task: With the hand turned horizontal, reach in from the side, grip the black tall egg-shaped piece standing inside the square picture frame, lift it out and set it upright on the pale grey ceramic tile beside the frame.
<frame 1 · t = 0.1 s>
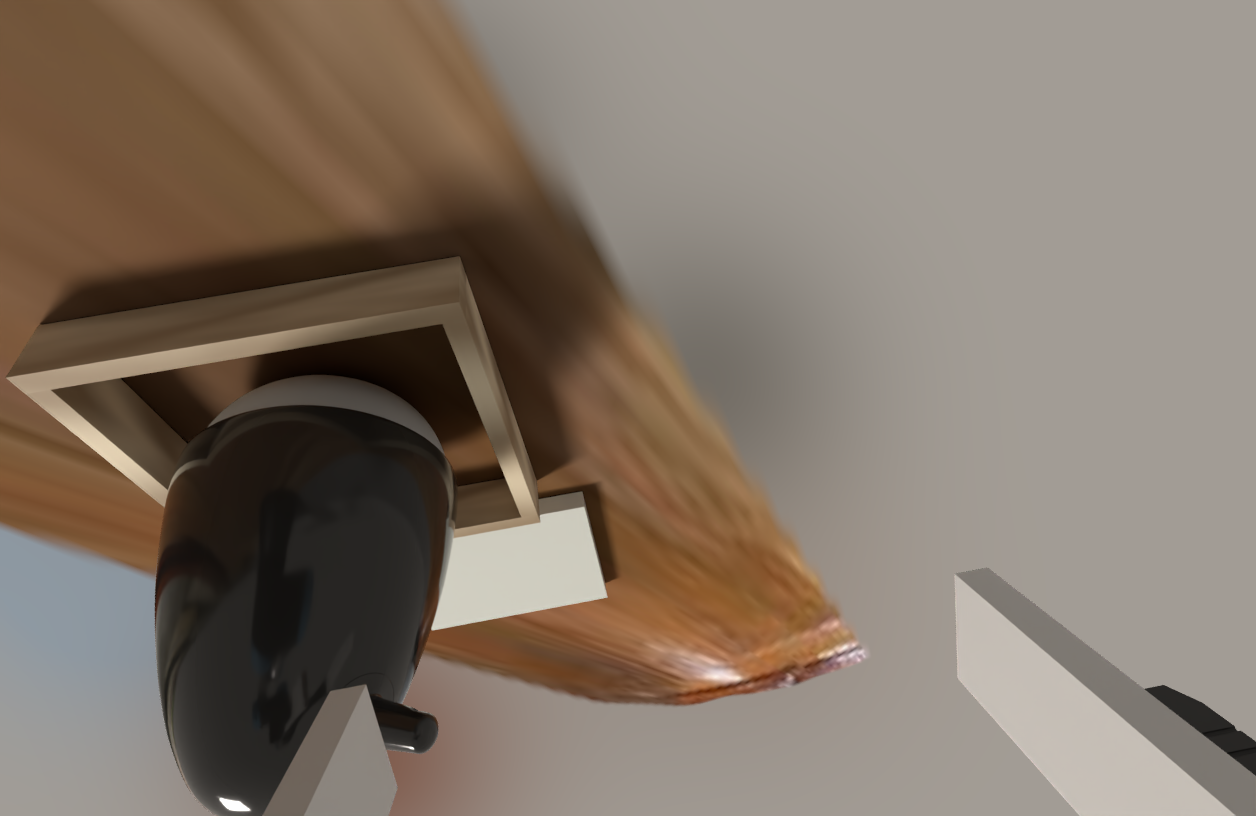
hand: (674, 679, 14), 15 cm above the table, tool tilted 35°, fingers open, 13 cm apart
black tall egg-shaped piece: (340, 415, 28), resting in square picture frame
ceramic tile: (499, 560, 40), on the table
square picture frame: (340, 419, 28), on the table
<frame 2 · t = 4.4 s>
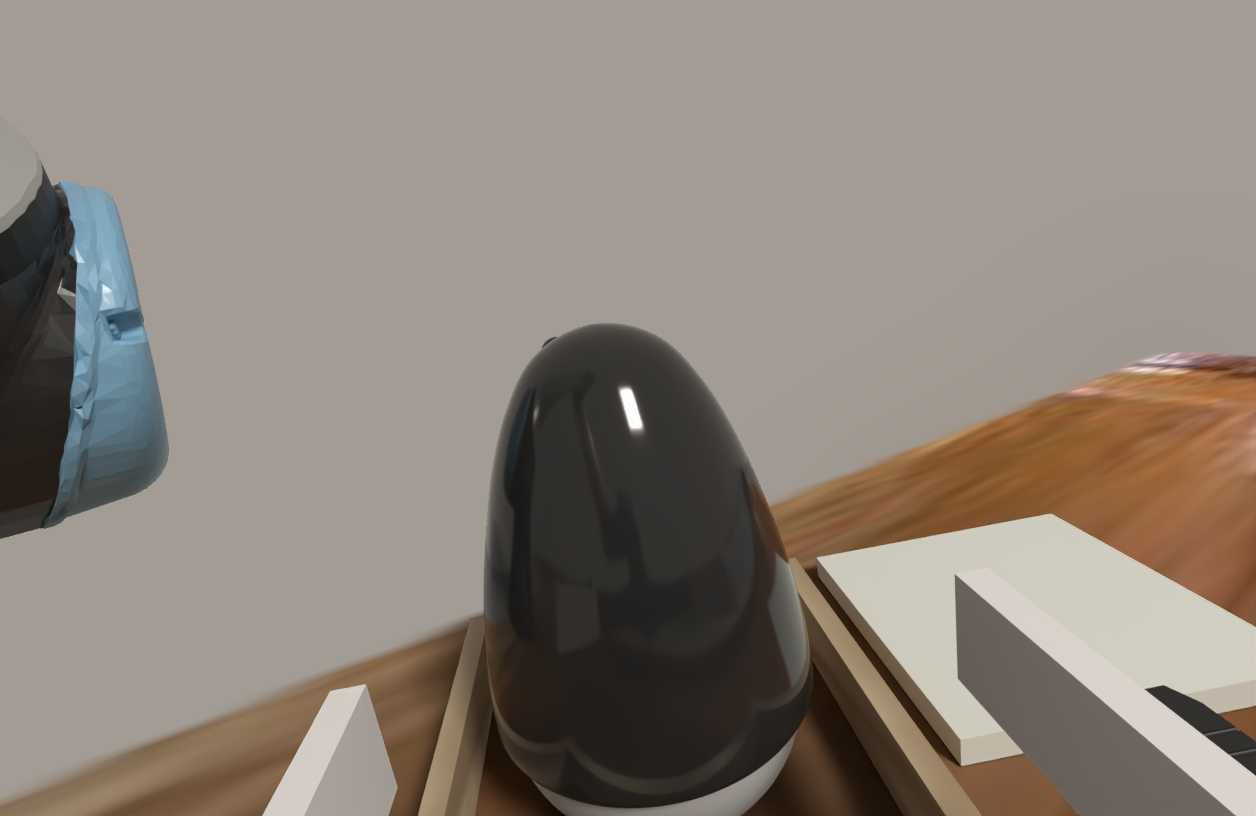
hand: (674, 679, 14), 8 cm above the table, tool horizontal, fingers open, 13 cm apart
black tall egg-shaped piece: (667, 766, 22), resting in square picture frame
ceramic tile: (1016, 621, 26), on the table
square picture frame: (666, 761, 22), on the table
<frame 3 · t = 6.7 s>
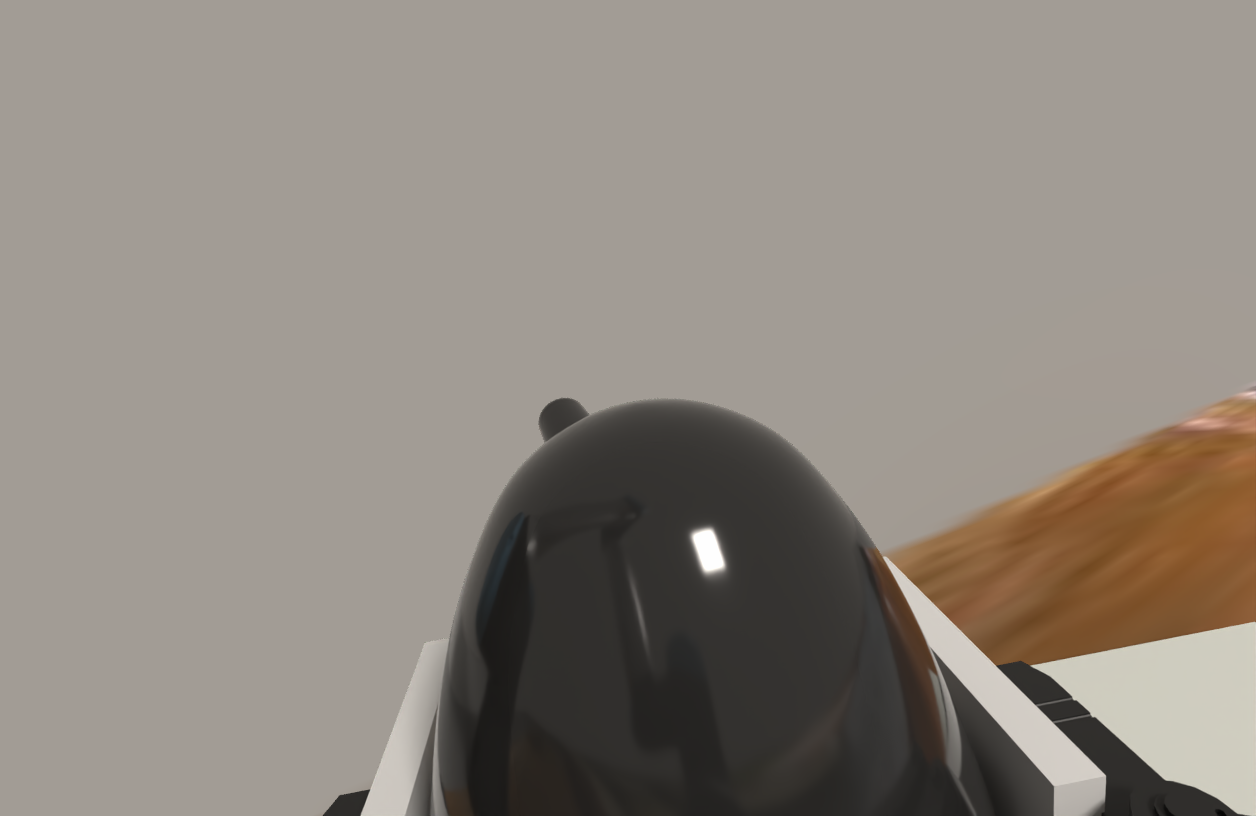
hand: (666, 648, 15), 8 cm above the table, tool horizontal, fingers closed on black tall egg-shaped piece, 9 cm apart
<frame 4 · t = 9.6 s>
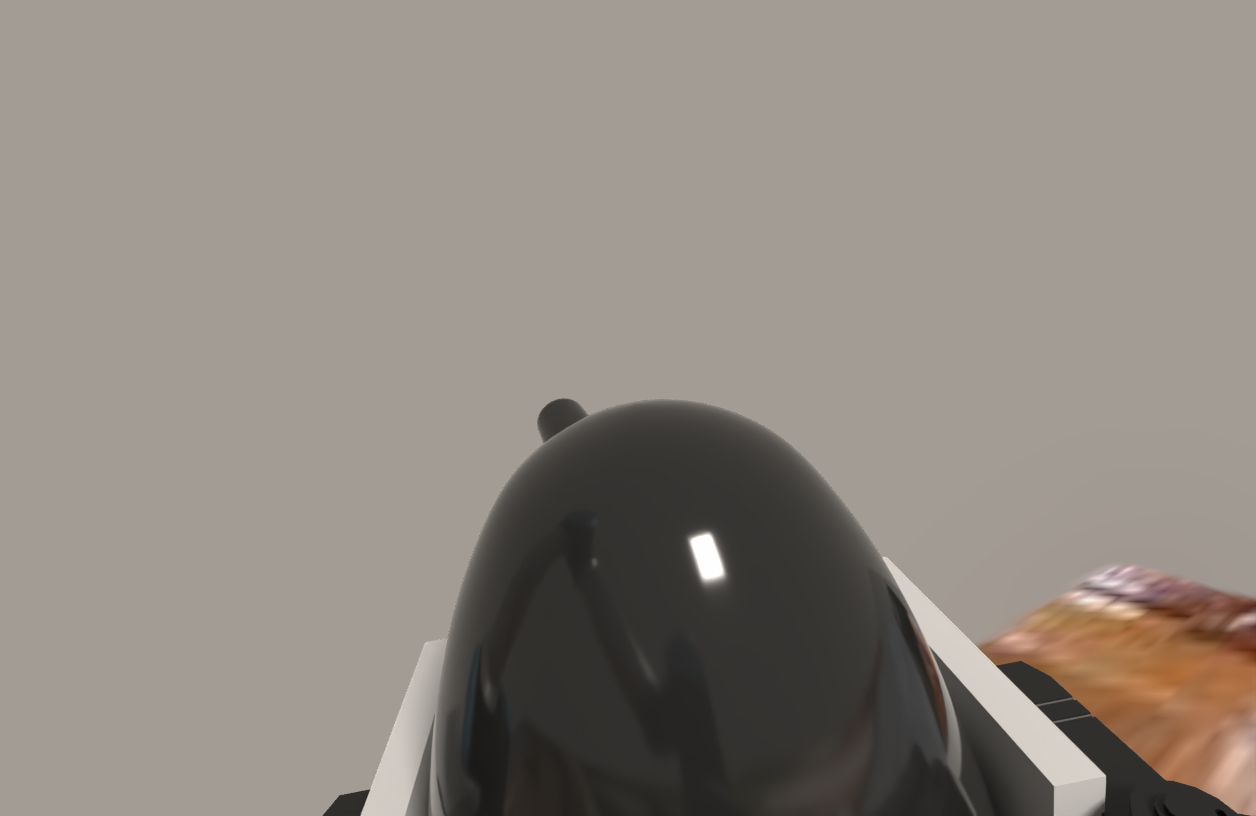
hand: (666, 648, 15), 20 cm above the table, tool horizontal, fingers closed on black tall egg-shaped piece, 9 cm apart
when the fingers open (10 cm above the table, at t = 12.6 s): black tall egg-shaped piece drops 1 cm, resting on ceramic tile.
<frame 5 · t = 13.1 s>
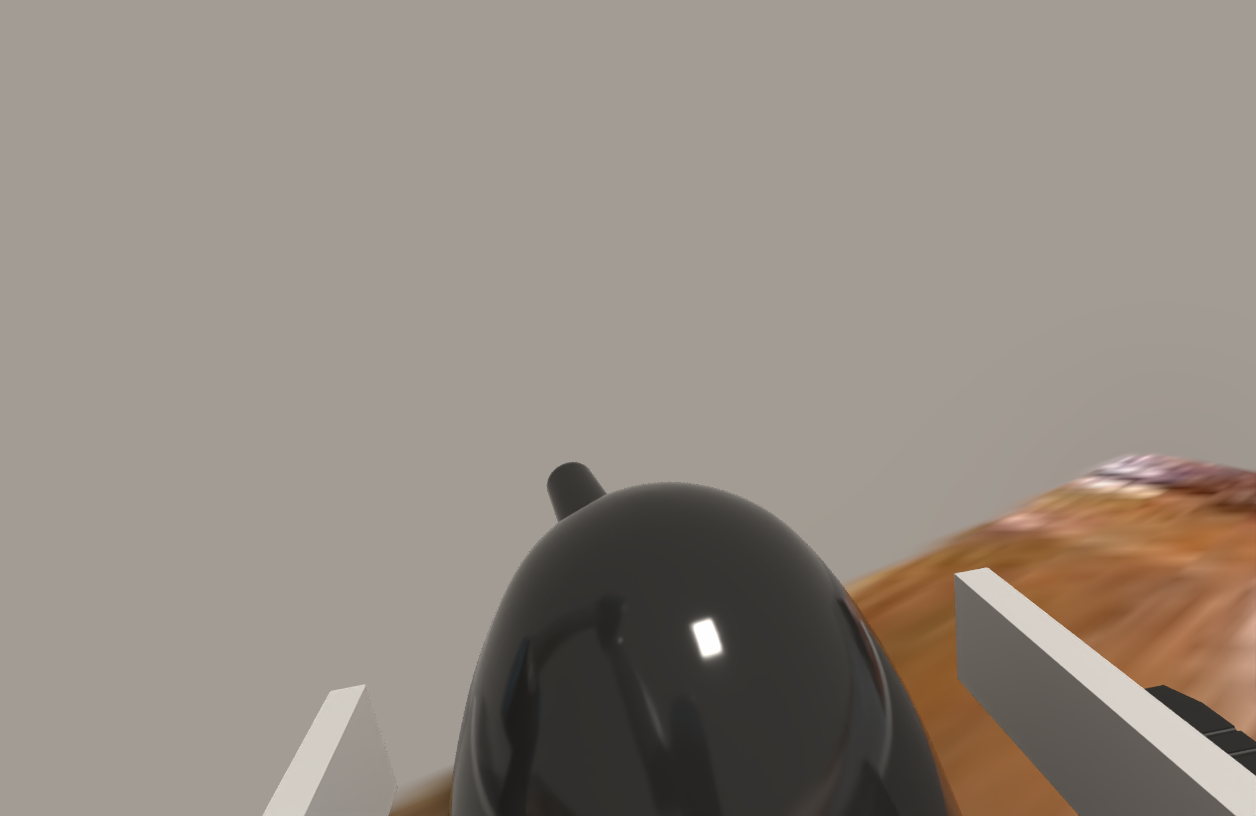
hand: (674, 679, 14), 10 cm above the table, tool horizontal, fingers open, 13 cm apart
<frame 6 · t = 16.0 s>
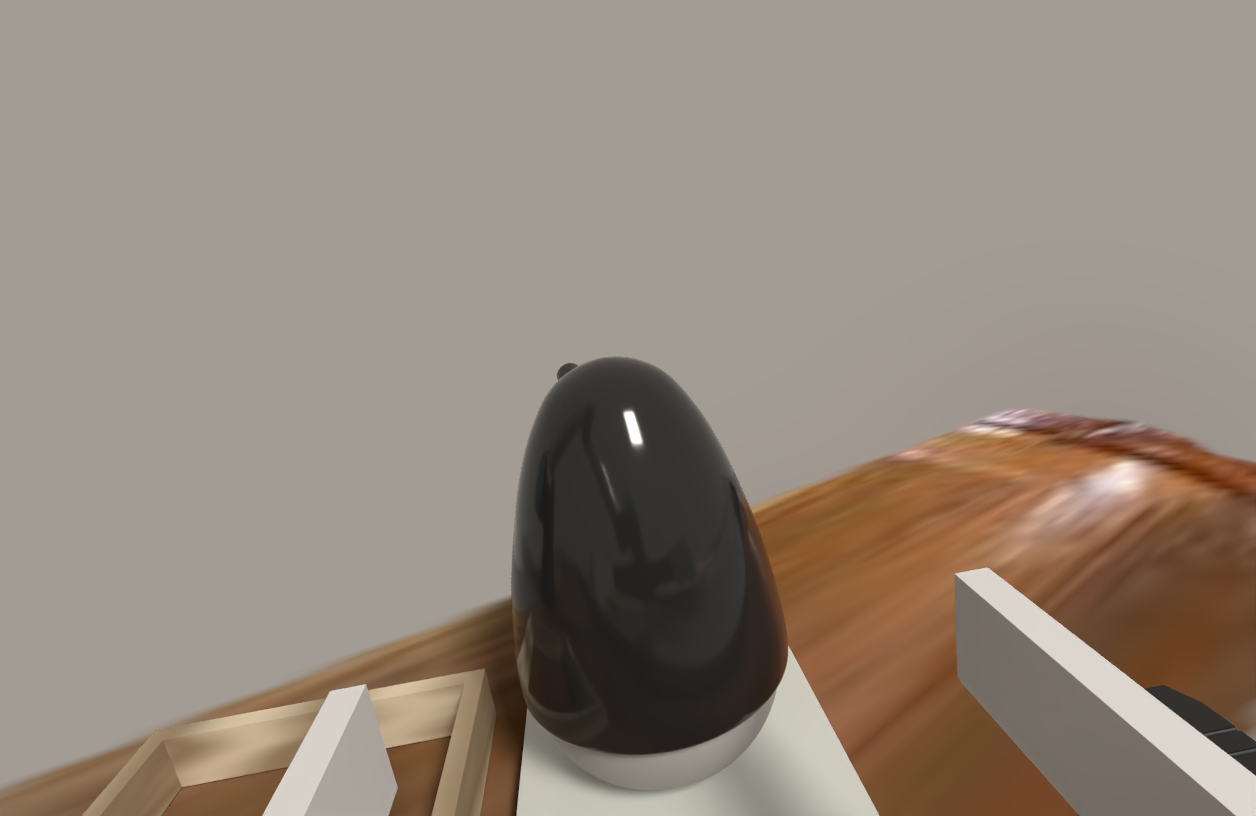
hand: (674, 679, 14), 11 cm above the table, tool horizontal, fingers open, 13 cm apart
black tall egg-shaped piece: (665, 731, 26), point 1 cm above the table, touching ceramic tile
ceramic tile: (673, 744, 26), on the table
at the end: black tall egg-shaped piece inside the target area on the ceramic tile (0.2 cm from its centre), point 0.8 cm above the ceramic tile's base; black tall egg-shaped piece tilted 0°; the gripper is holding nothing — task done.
